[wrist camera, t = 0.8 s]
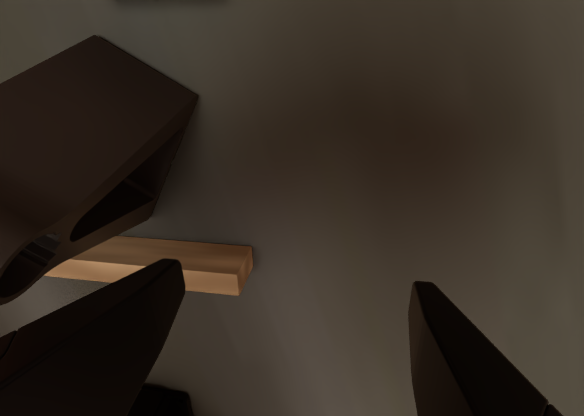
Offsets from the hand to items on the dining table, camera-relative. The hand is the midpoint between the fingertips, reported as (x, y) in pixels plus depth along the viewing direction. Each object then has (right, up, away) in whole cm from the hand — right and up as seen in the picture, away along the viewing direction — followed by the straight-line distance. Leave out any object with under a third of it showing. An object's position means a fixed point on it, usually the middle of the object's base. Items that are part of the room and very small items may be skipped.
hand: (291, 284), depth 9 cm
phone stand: (-10, +6, +13) cm, 17 cm away
